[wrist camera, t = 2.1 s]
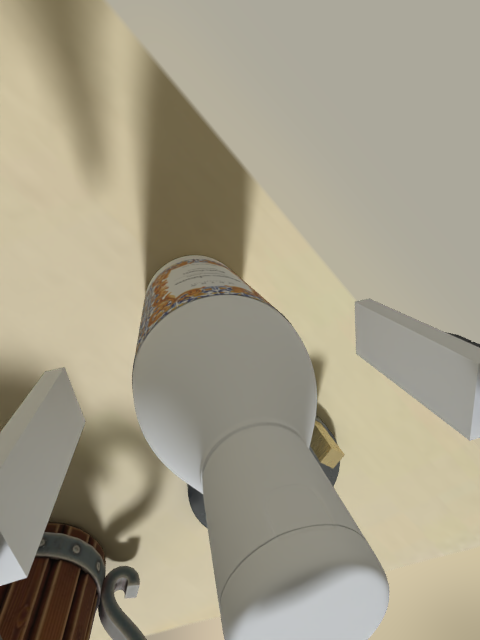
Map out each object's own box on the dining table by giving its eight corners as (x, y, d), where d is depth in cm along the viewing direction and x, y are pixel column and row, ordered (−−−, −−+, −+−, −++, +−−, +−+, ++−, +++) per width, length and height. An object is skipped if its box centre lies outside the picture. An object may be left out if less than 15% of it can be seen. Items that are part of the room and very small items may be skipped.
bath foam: (242, 252, 23) (547, 419, 5) (240, 342, 26) (448, 689, 7) (141, 254, 22) (40, 501, 3) (148, 349, 24) (112, 811, 6)
